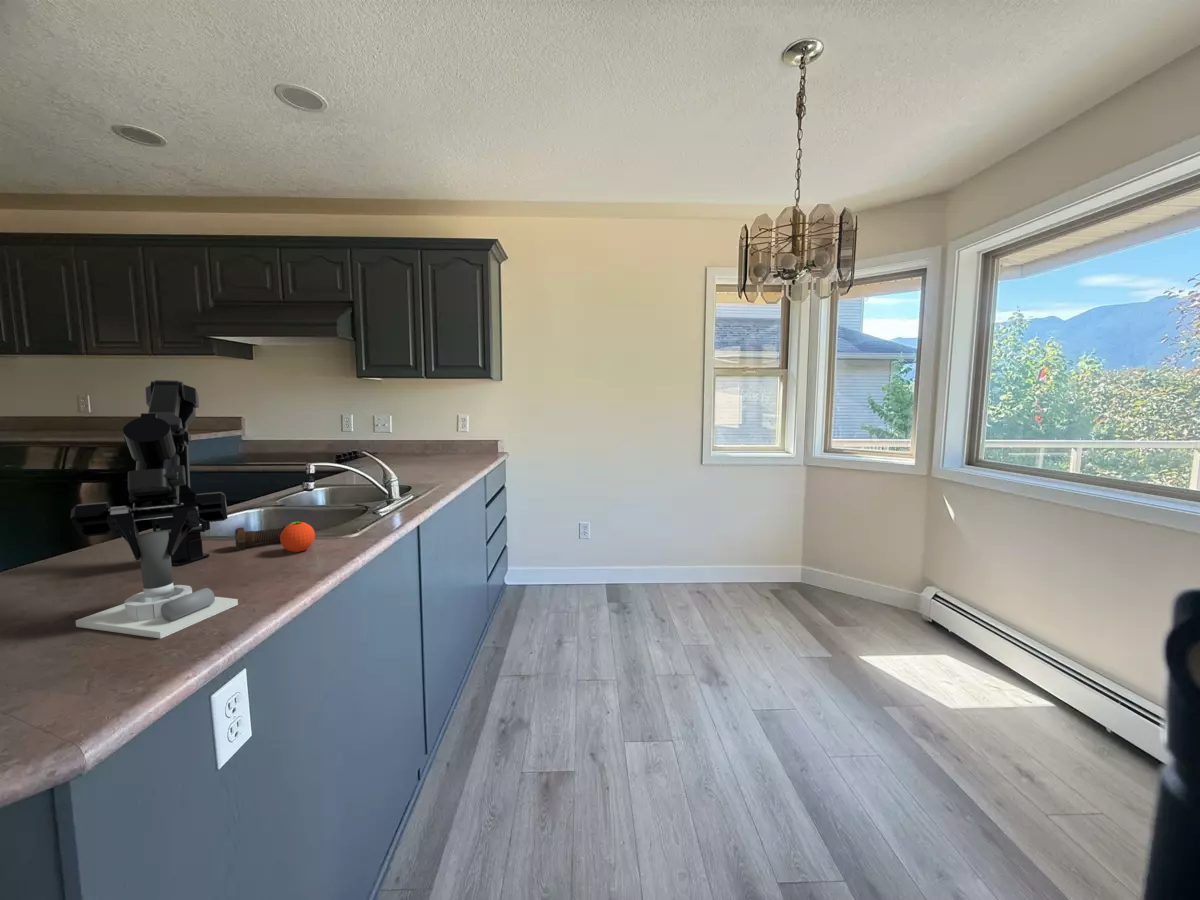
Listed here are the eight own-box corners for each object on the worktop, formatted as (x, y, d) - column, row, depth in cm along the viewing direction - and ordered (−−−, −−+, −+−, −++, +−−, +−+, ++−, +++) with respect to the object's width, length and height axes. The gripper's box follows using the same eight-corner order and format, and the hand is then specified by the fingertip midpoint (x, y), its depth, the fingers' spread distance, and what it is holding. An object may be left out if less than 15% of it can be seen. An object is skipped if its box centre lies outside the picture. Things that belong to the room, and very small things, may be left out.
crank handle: (140, 594, 77) (134, 535, 76) (168, 587, 80) (163, 529, 79) (148, 599, 75) (142, 538, 74) (177, 591, 78) (172, 532, 77)
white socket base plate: (76, 626, 74) (73, 602, 74) (161, 595, 86) (159, 574, 85) (160, 638, 70) (158, 612, 70) (237, 604, 82) (236, 582, 82)
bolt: (310, 545, 122) (236, 556, 112) (306, 532, 125) (235, 541, 115) (312, 528, 119) (237, 538, 109) (308, 515, 122) (235, 523, 112)
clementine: (274, 551, 111) (271, 521, 110) (306, 544, 116) (304, 515, 116) (288, 558, 106) (286, 527, 105) (321, 550, 112) (319, 520, 111)
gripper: (66, 453, 73) (51, 541, 65) (221, 446, 84) (223, 520, 76) (85, 495, 80) (74, 578, 72) (226, 484, 91) (229, 555, 83)
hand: (154, 556), depth 76 cm, fingers closed on crank handle, 4 cm apart
